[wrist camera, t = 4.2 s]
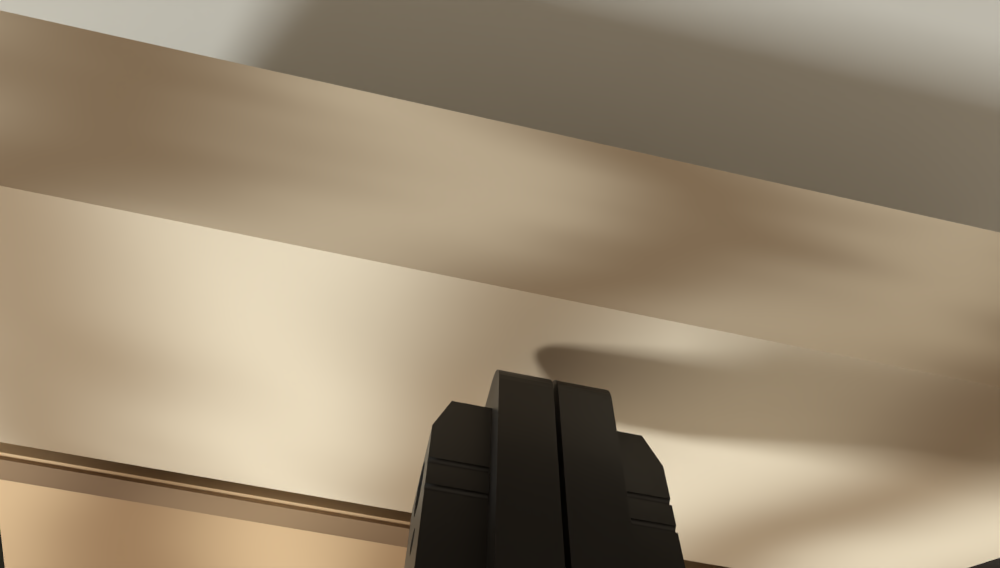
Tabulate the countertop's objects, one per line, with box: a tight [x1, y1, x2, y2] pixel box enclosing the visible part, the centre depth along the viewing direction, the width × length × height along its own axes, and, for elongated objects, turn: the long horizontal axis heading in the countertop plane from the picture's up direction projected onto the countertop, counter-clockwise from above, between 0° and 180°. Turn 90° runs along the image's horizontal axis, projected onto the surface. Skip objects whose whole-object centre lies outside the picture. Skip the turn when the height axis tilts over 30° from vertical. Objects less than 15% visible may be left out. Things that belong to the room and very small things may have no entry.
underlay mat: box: [0, 0, 1000, 232], centre depth 20 cm, size 22×24×1 cm
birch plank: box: [0, 10, 1000, 568], centre depth 15 cm, size 20×10×2 cm, turn 77°
